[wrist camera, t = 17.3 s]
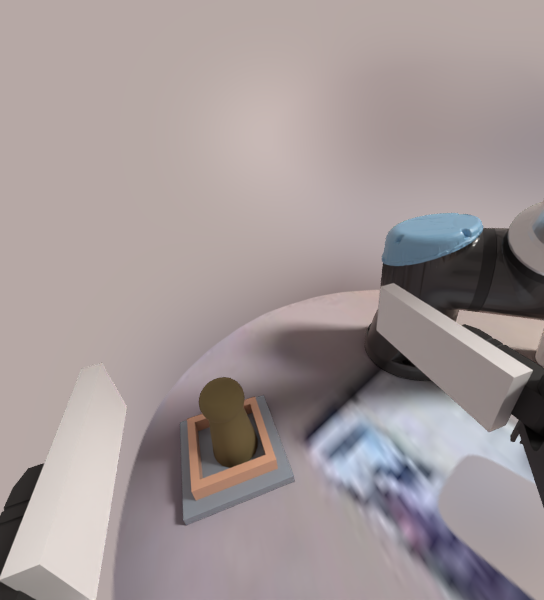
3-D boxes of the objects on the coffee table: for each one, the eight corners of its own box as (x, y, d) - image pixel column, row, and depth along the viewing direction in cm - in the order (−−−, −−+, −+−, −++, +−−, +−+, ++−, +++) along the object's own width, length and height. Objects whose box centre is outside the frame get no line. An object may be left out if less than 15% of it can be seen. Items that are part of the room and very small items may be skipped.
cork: (203, 456, 37) (180, 402, 31) (228, 418, 41) (212, 364, 35) (243, 475, 34) (226, 420, 28) (265, 432, 39) (255, 377, 33)
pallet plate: (264, 399, 45) (262, 385, 43) (294, 481, 34) (292, 466, 33) (182, 427, 42) (175, 413, 41) (186, 525, 32) (178, 511, 30)
